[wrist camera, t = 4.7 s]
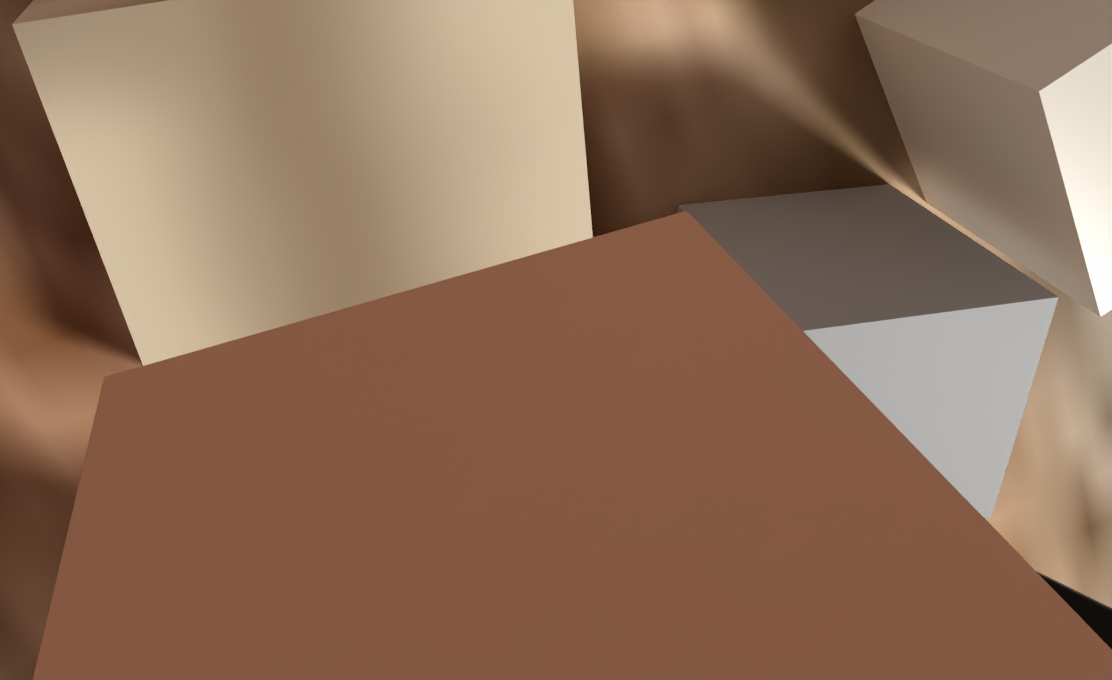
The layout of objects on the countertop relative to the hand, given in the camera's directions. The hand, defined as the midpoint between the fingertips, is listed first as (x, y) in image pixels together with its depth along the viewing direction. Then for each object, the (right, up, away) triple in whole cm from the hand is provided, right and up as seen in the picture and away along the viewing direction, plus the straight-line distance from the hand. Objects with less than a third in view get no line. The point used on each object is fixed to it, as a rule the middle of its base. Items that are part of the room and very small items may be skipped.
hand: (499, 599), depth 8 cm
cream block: (+9, +8, +11) cm, 16 cm away
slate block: (+5, +3, +13) cm, 14 cm away
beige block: (-3, +5, +9) cm, 11 cm away
